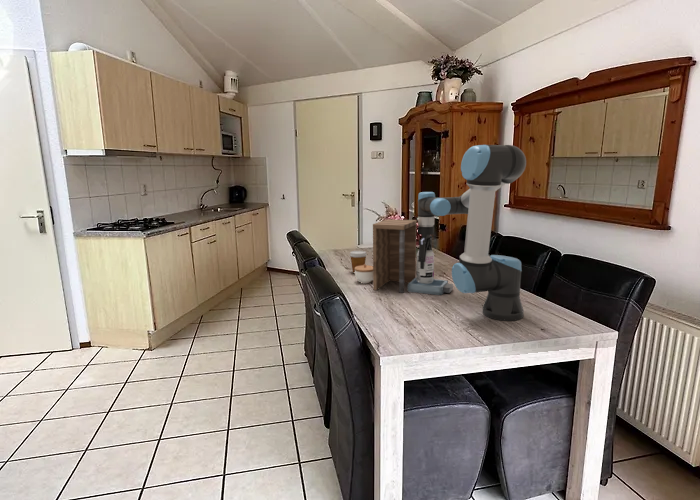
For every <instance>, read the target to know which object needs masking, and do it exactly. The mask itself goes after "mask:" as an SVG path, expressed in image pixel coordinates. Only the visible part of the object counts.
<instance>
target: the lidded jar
mask: <svg viewBox="0 0 700 500" xmlns="http://www.w3.org/2000/svg"><path fill="white" fill-rule="evenodd" d="M354 276H355V278H356V280H357V281H358V283H359V282H362V283H363V284H369V282H370V283H371V282H373V265H368V264H366V263H365V264H364V265H361V266H356V267H355V274H354ZM362 283H361V284H362Z"/></svg>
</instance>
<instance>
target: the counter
mask: <svg viewBox="0 0 700 500" xmlns="http://www.w3.org/2000/svg"><path fill="white" fill-rule="evenodd" d="M417 223H418V220H417V219H388V218H387V219H383V220H381V221H378V222H375V223H373V224H372V266H373V280H372V284H373V285H372V287H373V288H372V289H373V290H374V291H377V290H379V289H381V288H382V287H383V286H384V285H385V283H386V284H387V283H388V282H398V283H399V284H398V294H399V293H400V294H404V293H405V283H407V284H408V283H410V282H411V281H412V280H413V279H414V278H416V263H417ZM378 288H379V289H378Z"/></svg>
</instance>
